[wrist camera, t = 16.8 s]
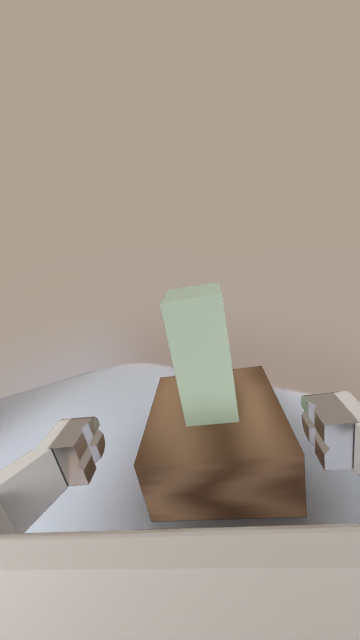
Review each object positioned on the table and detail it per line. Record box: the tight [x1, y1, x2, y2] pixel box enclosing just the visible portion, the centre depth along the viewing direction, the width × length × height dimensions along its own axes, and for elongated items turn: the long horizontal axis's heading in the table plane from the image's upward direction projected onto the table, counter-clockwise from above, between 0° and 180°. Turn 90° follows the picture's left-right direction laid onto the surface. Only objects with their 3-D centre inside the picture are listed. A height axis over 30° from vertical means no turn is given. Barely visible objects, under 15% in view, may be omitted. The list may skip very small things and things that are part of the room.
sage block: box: [160, 282, 239, 427], centre depth 21 cm, size 4×5×11 cm
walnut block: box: [134, 366, 306, 521], centre depth 23 cm, size 12×12×6 cm
